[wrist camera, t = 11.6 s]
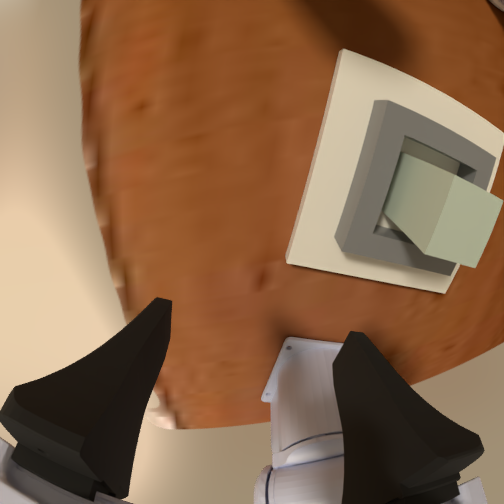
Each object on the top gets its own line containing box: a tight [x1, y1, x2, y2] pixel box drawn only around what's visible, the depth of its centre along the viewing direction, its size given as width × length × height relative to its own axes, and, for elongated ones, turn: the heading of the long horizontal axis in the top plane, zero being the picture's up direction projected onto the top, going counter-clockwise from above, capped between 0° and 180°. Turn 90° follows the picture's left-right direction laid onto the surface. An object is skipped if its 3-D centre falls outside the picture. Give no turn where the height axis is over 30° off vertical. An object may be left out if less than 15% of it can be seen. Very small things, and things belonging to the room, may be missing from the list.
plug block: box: [381, 152, 503, 268], centre depth 14 cm, size 4×4×6 cm
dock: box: [285, 49, 504, 293], centre depth 16 cm, size 14×14×3 cm
